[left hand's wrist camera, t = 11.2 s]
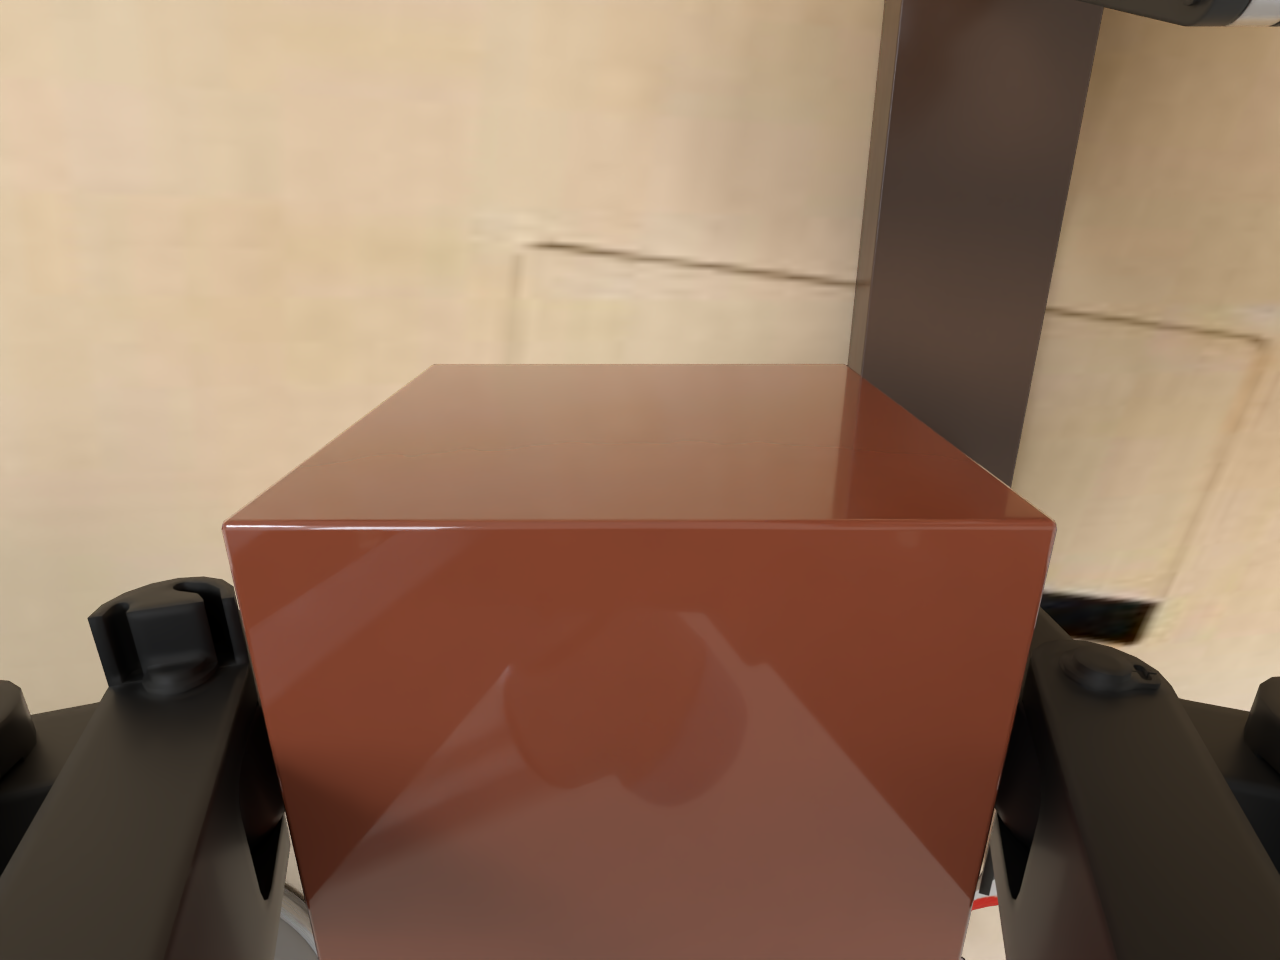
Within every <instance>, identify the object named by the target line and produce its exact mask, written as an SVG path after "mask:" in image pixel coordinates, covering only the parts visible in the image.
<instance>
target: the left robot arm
mask: <svg viewBox="0 0 1280 960" xmlns="http://www.w3.org/2000/svg"><path fill="white" fill-rule="evenodd" d="M88 621H89V624H90V628H91V631H92V634H93V637H94V641H95V644H96V647H97V650H98V653H99V657H100V660H101V663H102V666H103V669H104V673H105V676H106V679H107V682H108V685H109V687H108V689H107V691H106V693H105V694H104V696H103V698H102V700H101V701H100V702H98V703H93V704H88V705H82V706H77V707H72V708H66V709H61V710H56V711H50V712H45V713H39V714H34V715H30V712H29V710H28V707H27V704H26V701H25V699H24V696H23V693H22V690H21V688H20V687H18V686H16V685H15V684H13V683H12V682H10V681H5V680H0V960H319V959H318V955H317V950H316V946H315V942H314V937H313V933H312V928H311V924H310V919H309V915H308V910H307V906H306V903H305V902H304V901H303V900H301V899H300V898H299V897H298V896H296V895H295V894H294V893H292V892H291V891H289V890H288V889H286V888H284V886H285V879H286V872H287V865H288V858H289V851H290V839H289V832H288V827H287V822H286V818H285V813H284V812H285V808H284V804H283V799H282V795H281V790H280V786H279V782H278V777H277V773H276V768H275V764H274V759H273V755H272V750H271V746H270V742H269V737H268V733H267V728H266V724H265V719H264V715H263V711H262V706H261V702H260V697H259V693H258V688H257V684H256V679H255V675H254V671H253V666H252V662H251V657H250V653H249V648H248V644H247V639H246V635H245V631H244V626H243V622H242V617H241V613H240V610H239V609H238V605H237V600H236V596H235V592H234V587H233V586H232V585H230V584H229V583H227V582H226V581H224V580H222V579H216V578H209V577H189V578H177V579H172V580H167V581H162V582H157V583H152V584H149V585H146V586H143V587H140V588H138V589H135V590H132V591H129V592H126V593H124V594H122V595H120V596H118V597H116V598H114V599H112V600H110V601H109V602H107V603H105V604H103V605H101V606H100V607H99V608H98V609H97V610H96V611H95V612H94V613H93V614H91V615H90V616H89V617H88ZM995 809H996V813H995V818H994V822H993V827H992V831H991V836H990V840H989V845H988V849H987V853H986V858H985V862H984V867H983V871H982V876H981V881H980V888H979V893H980V894H983V895H987V896H989V894H990V890H991V886H992V881H993V880H994V879H995V884H996V891H997V898H998V905H999V912H1000V919H1001V926H1002V933H1003V940H1004V947H1005V954H1006V960H1280V677H1271V678H1270V679H1268V680H1266V681H1265V682H1263V683H1261V684H1260V686H1259V688H1258V691H1257V694H1256V697H1255V699H1254V702H1253V705H1252V708H1251V710H1250V712H1248V711H1243V710H1238V709H1232V708H1227V707H1221V706H1216V705H1211V704H1205V703H1200V702H1194V701H1189V700H1184V699H1180V698H1178V696H1177V695H1176V693H1175V691H1174V689H1173V688H1172V686H1171V685H1170V684H1169V683H1168V681H1167V680H1166V679H1165V678H1164V677H1163V676H1162V675H1161V674H1160V673H1159V672H1158V671H1157V670H1156V669H1154V668H1152V667H1151V666H1149V665H1148V664H1146V663H1145V662H1143V661H1141V660H1140V659H1138V658H1137V657H1134V656H1132V655H1129V654H1127V653H1125V652H1122V651H1120V650H1117V649H1115V648H1112V647H1109V646H1105V645H1101V644H1096V643H1092V642H1088V641H1081V640H1073V639H1072V638H1071V637H1070V636H1069V635H1068V634H1067V633H1066V632H1065V631H1064V630H1063V629H1062V628H1061V627H1060V626H1059V625H1058V624H1057V623H1056V622H1055V621H1054V620H1053V619H1052V618H1051V617H1050V616H1049V615H1048V614H1047V613H1046V612H1045V611H1044V610H1043V609H1042V608H1041V607H1039V611H1038V616H1037V620H1036V625H1035V629H1034V634H1033V638H1032V643H1031V647H1030V652H1029V656H1028V661H1027V665H1026V669H1025V674H1024V678H1023V683H1022V687H1021V692H1020V696H1019V701H1018V705H1017V710H1016V714H1015V718H1014V723H1013V727H1012V732H1011V736H1010V741H1009V745H1008V750H1007V754H1006V759H1005V763H1004V768H1003V772H1002V776H1001V781H1000V785H999V790H998V794H997V799H996V803H995Z"/></svg>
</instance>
